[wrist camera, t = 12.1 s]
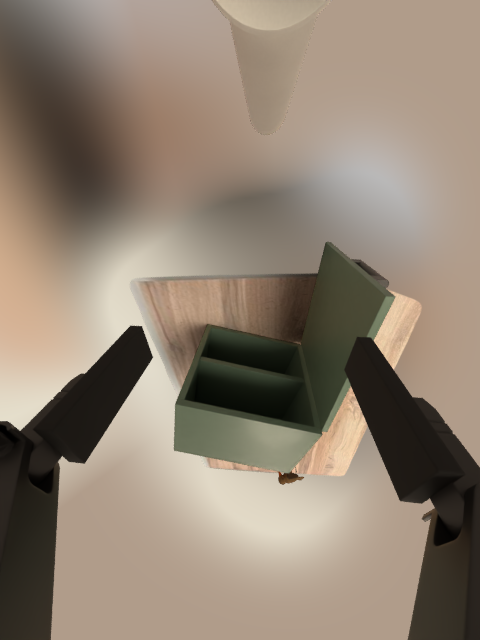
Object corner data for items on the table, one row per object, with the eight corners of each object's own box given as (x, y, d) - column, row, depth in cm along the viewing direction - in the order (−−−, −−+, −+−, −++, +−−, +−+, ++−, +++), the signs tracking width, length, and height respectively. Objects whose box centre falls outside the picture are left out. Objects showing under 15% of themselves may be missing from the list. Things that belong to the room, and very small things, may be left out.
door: (360, 243, 40) (456, 300, 20) (325, 344, 55) (361, 435, 35) (325, 242, 41) (385, 296, 21) (300, 342, 55) (321, 431, 35)
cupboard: (207, 323, 55) (175, 404, 35) (301, 344, 56) (322, 434, 35) (201, 368, 65) (173, 450, 45) (281, 385, 66) (288, 473, 46)
